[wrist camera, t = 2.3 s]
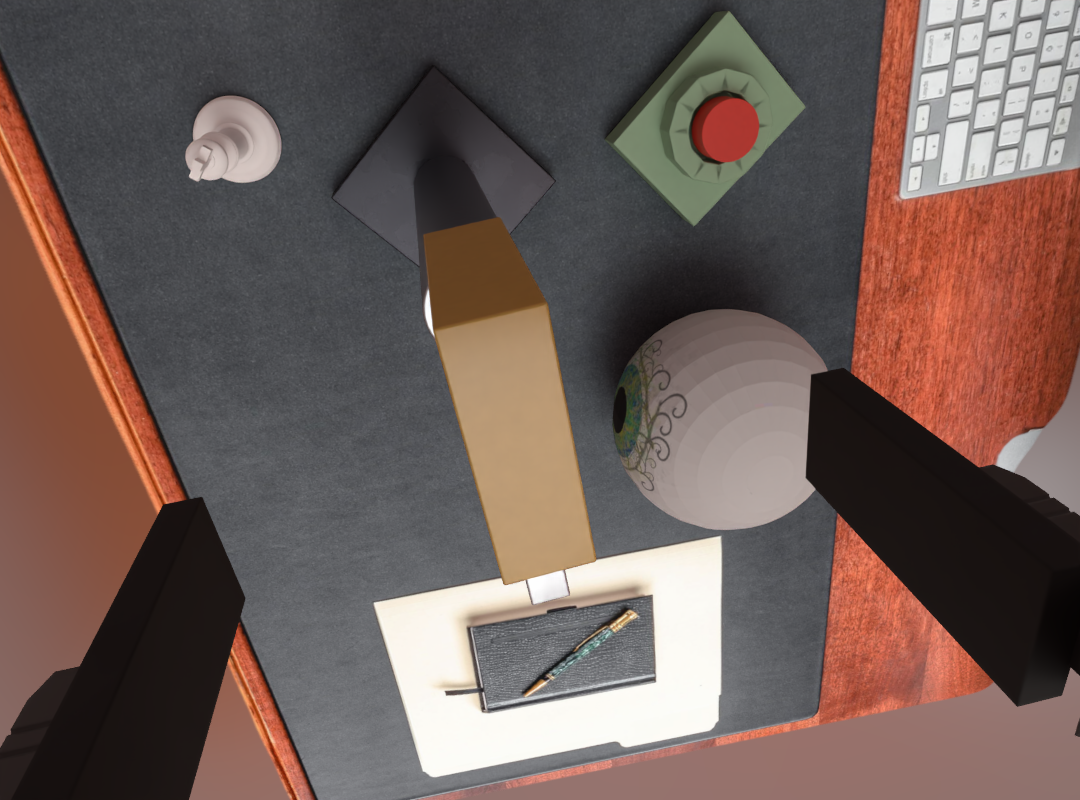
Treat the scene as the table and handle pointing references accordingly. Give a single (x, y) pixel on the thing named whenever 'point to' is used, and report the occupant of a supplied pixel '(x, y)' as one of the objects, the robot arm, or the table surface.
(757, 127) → the button
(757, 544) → the table surface
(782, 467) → the decorative object
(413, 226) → the faucet body
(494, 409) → the tap handle
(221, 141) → the chess piece
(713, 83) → the button box
